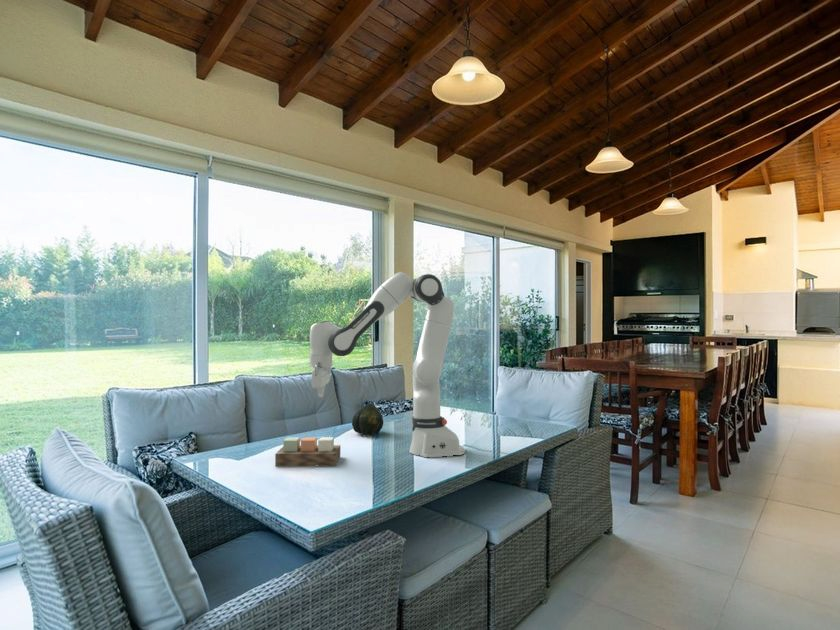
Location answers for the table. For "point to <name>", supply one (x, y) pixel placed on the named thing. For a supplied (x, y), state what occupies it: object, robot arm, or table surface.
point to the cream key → (326, 444)
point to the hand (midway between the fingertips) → (321, 397)
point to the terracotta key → (309, 444)
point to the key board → (308, 457)
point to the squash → (367, 420)
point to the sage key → (291, 444)
